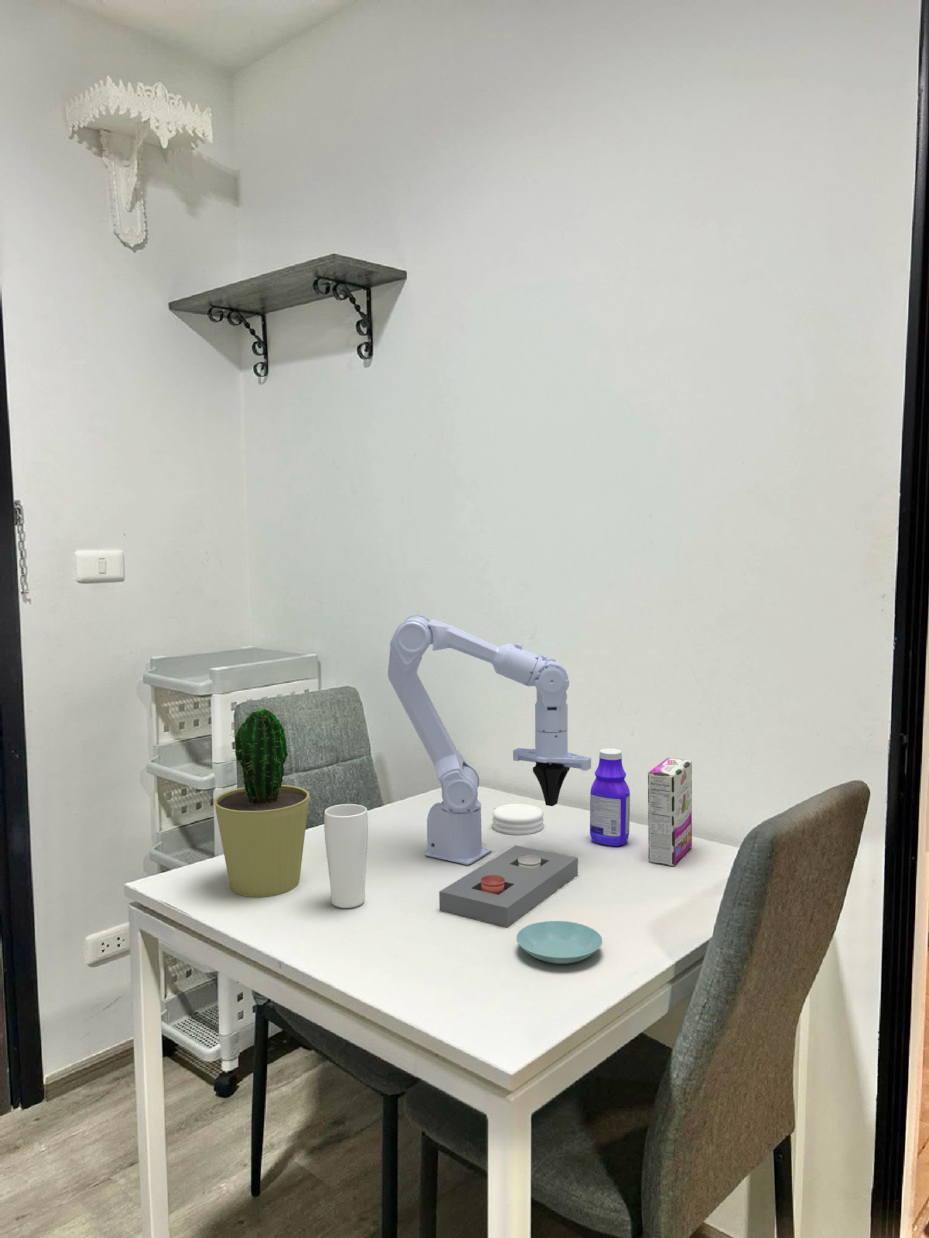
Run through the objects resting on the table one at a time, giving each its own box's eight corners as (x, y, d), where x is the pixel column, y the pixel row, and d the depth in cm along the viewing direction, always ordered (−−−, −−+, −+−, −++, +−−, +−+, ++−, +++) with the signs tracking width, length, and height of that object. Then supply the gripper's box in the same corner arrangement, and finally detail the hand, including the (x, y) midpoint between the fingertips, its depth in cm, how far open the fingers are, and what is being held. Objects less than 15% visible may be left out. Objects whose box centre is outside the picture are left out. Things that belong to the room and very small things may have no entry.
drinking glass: (376, 897, 147) (374, 805, 146) (358, 913, 141) (356, 818, 139) (338, 892, 149) (336, 801, 148) (318, 908, 143) (316, 814, 141)
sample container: (514, 876, 153) (513, 860, 153) (524, 869, 156) (524, 853, 156) (534, 880, 151) (534, 864, 151) (544, 873, 154) (544, 857, 154)
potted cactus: (261, 861, 164) (256, 694, 161) (330, 876, 156) (326, 702, 153) (196, 890, 150) (189, 710, 147) (268, 909, 143) (262, 719, 140)
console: (507, 927, 135) (507, 907, 135) (439, 910, 142) (439, 891, 141) (577, 874, 155) (577, 857, 155) (515, 861, 162) (515, 845, 162)
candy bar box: (665, 843, 170) (666, 756, 169) (692, 847, 168) (693, 759, 166) (646, 862, 161) (646, 770, 159) (674, 867, 158) (675, 774, 157)
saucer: (515, 934, 133) (515, 919, 133) (597, 934, 133) (597, 919, 133) (517, 973, 122) (517, 957, 122) (607, 974, 121) (607, 957, 121)
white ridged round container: (517, 816, 188) (517, 799, 188) (553, 828, 181) (554, 810, 180) (482, 827, 181) (481, 810, 181) (518, 839, 174) (518, 821, 174)
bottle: (633, 840, 172) (634, 749, 170) (622, 849, 167) (622, 756, 166) (598, 834, 176) (598, 744, 174) (585, 842, 171) (585, 751, 169)
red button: (476, 897, 143) (475, 880, 143) (488, 889, 146) (488, 873, 146) (497, 902, 141) (497, 885, 140) (509, 894, 144) (509, 877, 144)
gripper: (504, 729, 163) (504, 803, 164) (578, 738, 155) (578, 816, 157) (523, 721, 169) (523, 794, 170) (596, 730, 161) (596, 805, 162)
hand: (551, 804), depth 164 cm, fingers closed
